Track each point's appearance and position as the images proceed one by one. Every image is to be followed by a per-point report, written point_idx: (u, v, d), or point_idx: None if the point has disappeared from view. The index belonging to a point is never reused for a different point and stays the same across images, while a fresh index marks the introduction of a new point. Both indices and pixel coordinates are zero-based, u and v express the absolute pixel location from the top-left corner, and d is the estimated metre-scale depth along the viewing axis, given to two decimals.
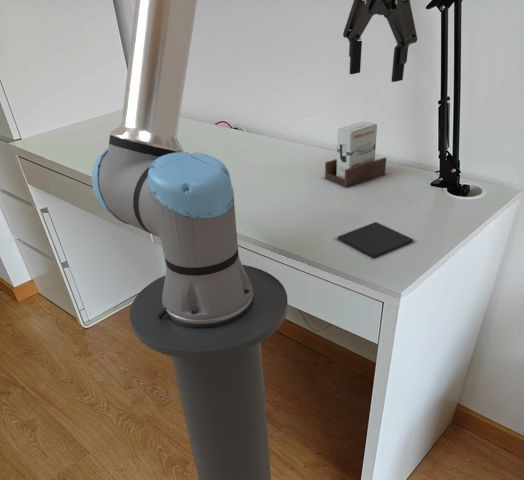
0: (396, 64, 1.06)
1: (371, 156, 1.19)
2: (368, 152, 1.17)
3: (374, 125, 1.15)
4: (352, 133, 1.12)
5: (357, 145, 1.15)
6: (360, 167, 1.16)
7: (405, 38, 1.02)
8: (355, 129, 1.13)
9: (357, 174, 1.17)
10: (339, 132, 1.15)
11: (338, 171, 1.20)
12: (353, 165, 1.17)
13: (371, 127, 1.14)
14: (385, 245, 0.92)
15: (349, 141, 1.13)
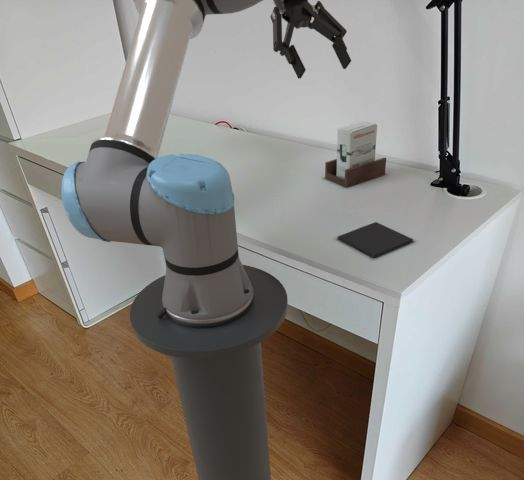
0: None
1: (371, 156, 1.19)
2: (368, 152, 1.17)
3: (374, 125, 1.15)
4: (352, 133, 1.12)
5: (357, 145, 1.15)
6: (360, 167, 1.16)
7: (342, 29, 1.19)
8: (355, 129, 1.13)
9: (357, 174, 1.17)
10: (339, 132, 1.15)
11: (338, 171, 1.20)
12: (353, 165, 1.17)
13: (371, 127, 1.14)
14: (385, 245, 0.92)
15: (349, 141, 1.13)
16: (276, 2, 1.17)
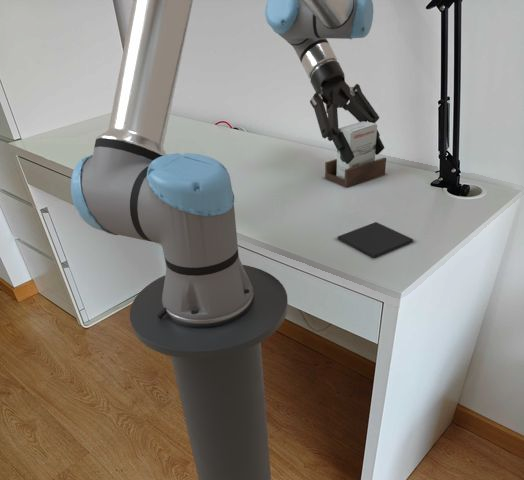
0: None
1: (372, 156, 1.19)
2: (368, 152, 1.18)
3: (374, 125, 1.15)
4: (352, 133, 1.12)
5: (357, 145, 1.15)
6: (360, 167, 1.16)
7: (375, 115, 1.18)
8: (355, 129, 1.13)
9: (357, 174, 1.17)
10: (339, 132, 1.15)
11: (338, 171, 1.20)
12: (353, 165, 1.17)
13: (371, 127, 1.14)
14: (385, 245, 0.92)
15: (349, 141, 1.13)
16: (314, 83, 1.16)
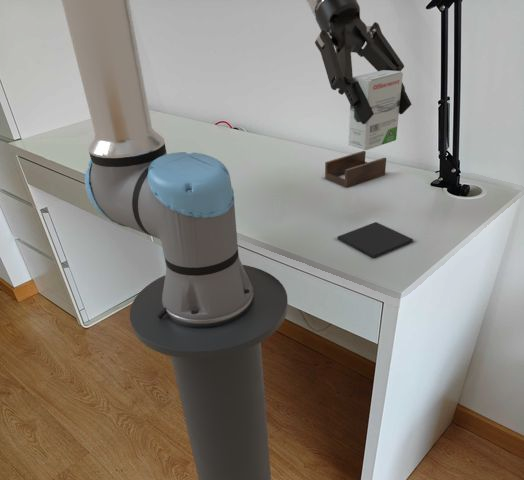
0: None
1: (394, 116, 0.92)
2: (390, 109, 0.91)
3: (399, 73, 0.88)
4: (371, 81, 0.85)
5: (377, 99, 0.88)
6: (360, 167, 1.16)
7: (399, 63, 0.92)
8: (375, 77, 0.86)
9: (357, 174, 1.17)
10: (353, 82, 0.88)
11: (351, 135, 0.93)
12: (371, 126, 0.90)
13: (395, 75, 0.88)
14: (385, 245, 0.92)
15: (367, 93, 0.86)
16: (320, 20, 0.89)
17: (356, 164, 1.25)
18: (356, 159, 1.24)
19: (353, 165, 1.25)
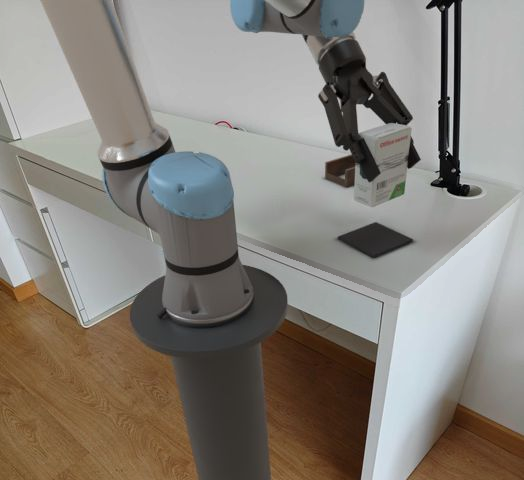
0: None
1: (403, 171, 0.87)
2: (398, 165, 0.85)
3: (408, 128, 0.83)
4: (378, 139, 0.80)
5: (384, 156, 0.82)
6: None
7: (407, 114, 0.86)
8: (382, 134, 0.81)
9: None
10: (359, 138, 0.83)
11: (356, 191, 0.88)
12: (378, 183, 0.85)
13: (404, 131, 0.82)
14: (385, 245, 0.92)
15: (374, 151, 0.81)
16: (323, 71, 0.84)
17: None
18: None
19: (353, 165, 1.25)
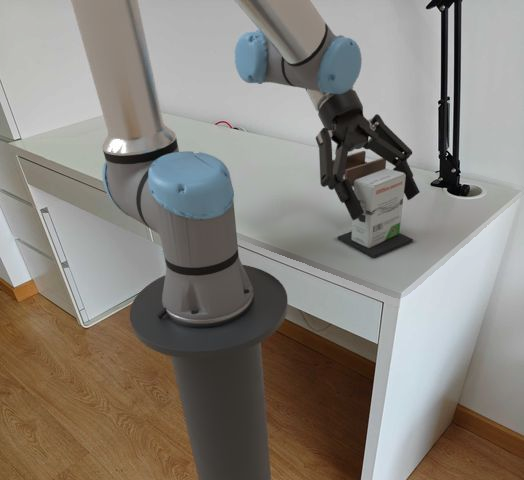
0: None
1: (397, 213, 0.92)
2: (393, 208, 0.90)
3: (402, 175, 0.88)
4: (374, 187, 0.85)
5: (379, 202, 0.87)
6: (360, 167, 1.16)
7: (407, 150, 0.92)
8: (378, 182, 0.86)
9: (357, 174, 1.17)
10: (356, 185, 0.88)
11: (354, 232, 0.93)
12: (374, 226, 0.90)
13: (398, 178, 0.87)
14: (385, 245, 0.92)
15: (370, 198, 0.86)
16: (323, 118, 0.89)
17: (356, 164, 1.25)
18: (356, 159, 1.24)
19: (353, 165, 1.25)
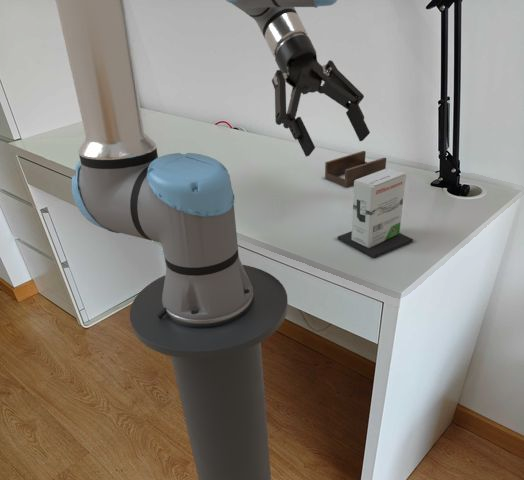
0: None
1: (397, 213, 0.92)
2: (393, 208, 0.90)
3: (402, 175, 0.88)
4: (374, 187, 0.85)
5: (379, 202, 0.87)
6: (360, 167, 1.16)
7: (358, 94, 0.99)
8: (378, 182, 0.86)
9: (357, 174, 1.17)
10: (356, 185, 0.88)
11: (354, 232, 0.93)
12: (374, 226, 0.90)
13: (398, 178, 0.87)
14: (385, 245, 0.92)
15: (370, 198, 0.86)
16: (279, 63, 0.96)
17: (356, 164, 1.25)
18: (356, 159, 1.24)
19: (353, 165, 1.25)
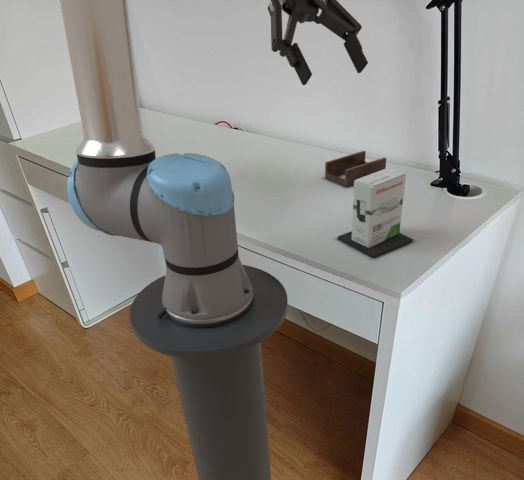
0: None
1: (397, 213, 0.92)
2: (393, 208, 0.90)
3: (402, 175, 0.88)
4: (374, 187, 0.85)
5: (379, 202, 0.87)
6: (360, 167, 1.16)
7: (356, 24, 0.97)
8: (378, 182, 0.86)
9: (357, 174, 1.17)
10: (356, 185, 0.88)
11: (354, 232, 0.93)
12: (374, 226, 0.90)
13: (398, 177, 0.87)
14: (385, 245, 0.92)
15: (370, 198, 0.86)
16: None
17: (356, 164, 1.25)
18: (356, 159, 1.24)
19: (353, 165, 1.25)
